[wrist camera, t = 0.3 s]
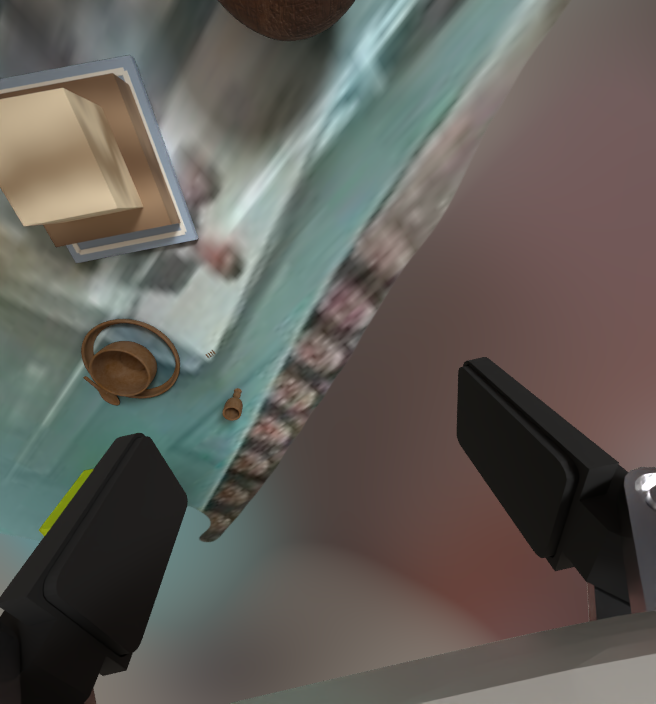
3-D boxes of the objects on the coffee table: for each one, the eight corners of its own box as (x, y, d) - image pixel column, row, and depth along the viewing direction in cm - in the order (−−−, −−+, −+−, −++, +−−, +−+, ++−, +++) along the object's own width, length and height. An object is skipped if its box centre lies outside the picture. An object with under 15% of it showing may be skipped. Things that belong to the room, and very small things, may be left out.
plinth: (1, 109, 28) (-100, 77, 20) (129, 85, 28) (74, 45, 21) (74, 243, 33) (16, 255, 26) (181, 222, 33) (151, 228, 26)
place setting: (149, 284, 37) (126, 297, 32) (254, 388, 46) (249, 412, 41) (56, 359, 40) (21, 382, 35) (171, 443, 49) (157, 472, 44)
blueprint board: (-17, 86, 27) (-27, 82, 26) (134, 58, 28) (129, 54, 27) (80, 262, 35) (75, 263, 34) (198, 238, 35) (196, 239, 34)
